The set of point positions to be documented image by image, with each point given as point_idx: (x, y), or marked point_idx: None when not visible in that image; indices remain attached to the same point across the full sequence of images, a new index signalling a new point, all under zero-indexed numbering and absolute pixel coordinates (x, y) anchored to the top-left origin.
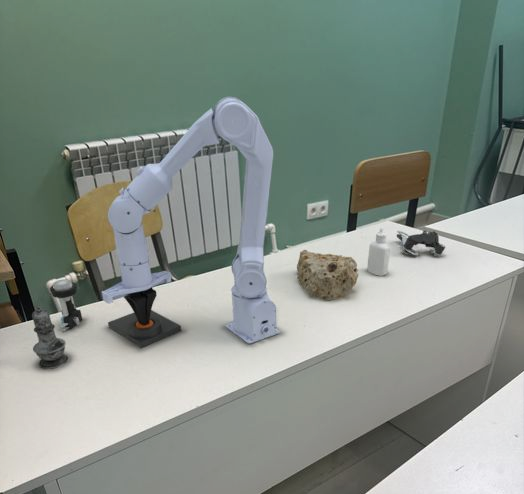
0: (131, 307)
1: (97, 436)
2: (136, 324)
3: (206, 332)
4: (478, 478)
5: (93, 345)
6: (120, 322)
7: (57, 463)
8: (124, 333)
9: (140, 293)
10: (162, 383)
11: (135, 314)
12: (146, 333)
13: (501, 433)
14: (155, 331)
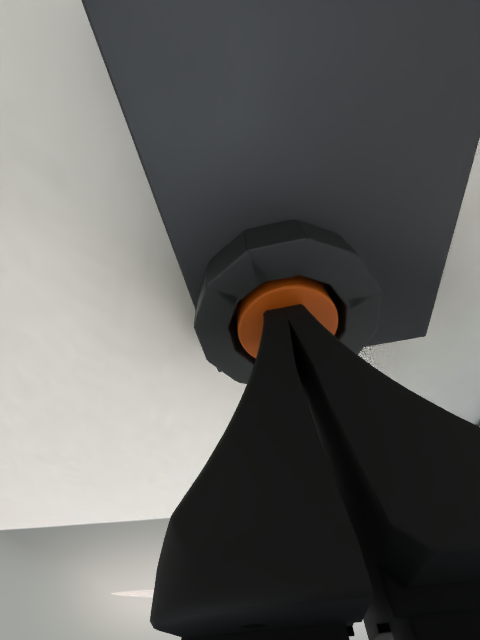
0: (245, 391)
1: (72, 514)
2: (243, 324)
3: (457, 363)
4: None
5: (7, 220)
6: (185, 80)
7: (17, 526)
8: (177, 258)
9: (350, 634)
10: None
11: (260, 345)
12: None
13: None
14: None
